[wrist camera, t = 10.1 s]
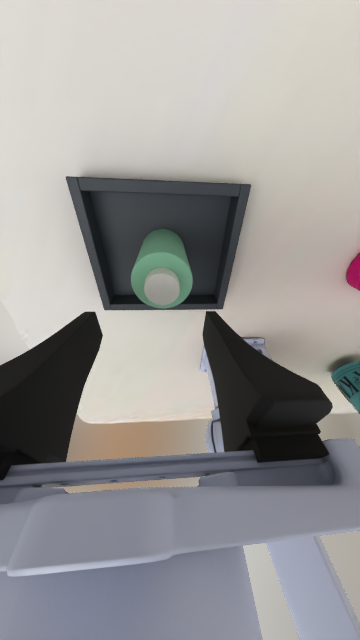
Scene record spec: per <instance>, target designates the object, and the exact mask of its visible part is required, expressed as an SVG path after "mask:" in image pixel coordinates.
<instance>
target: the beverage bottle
mask: <svg viewBox="0 0 360 640" xmlns="http://www.w3.org/2000/svg"><path fill="white" fill-rule="evenodd" d="M331 378H332V380H333V381H334V384H336V386H338V387H337V388H338V389H340V390H341V393H342V394H343V395H345V397H346V399H347V400H348V401H349V402H350V403H352V405H353V406H354V407H355V408H356V410H357V411H358V412H359V414H360V361H357V362H352V363H348V364H346V365H343V366H341V367H339V368H338V369H336V370H335V371H334V372H333V373H332V375H331ZM354 407H353V408H354ZM355 408H354V409H355Z"/></svg>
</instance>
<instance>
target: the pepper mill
mask: <svg viewBox="0 0 360 640" xmlns="http://www.w3.org/2000/svg"><path fill="white" fill-rule="evenodd" d="M347 282H348V283H349V284H350V285H351V286H352V287H354V288H356V289H358V290H360V254H359V255H358V256H357V257H356V258H355V259H354V260H353V262H352V263H351V265H350V267H349V269H348V272H347Z"/></svg>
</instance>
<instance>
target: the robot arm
mask: <svg viewBox="0 0 360 640" xmlns="http://www.w3.org/2000/svg"><path fill="white" fill-rule="evenodd" d="M102 336H103V335H102V332H101V329H100V325H99V322H98V319H97V316H96V313H95V312H84V313H83V314H81V315H80V316H78V317H77V318H76V319H74V320H73V321H72V322H70V323H69V324H68V325H66V326H65V327H63V328H62V329H61V330H59V331H58V332H57V333H55V334H54V335H52V336H51V337H49V338H48V339H46V340H45V341H43V342H42V343H40V344H39V345H37V346H35V347H34V348H32V349H30V350H29V351H27V352H25V353H24V354H22V355H20V356H18V357H16V358H14V359H12V360H10V361H8V362H6V363H4V364H2V365H0V640H262V635H261V631H260V626H259V621H258V616H257V611H256V607H255V602H254V597H253V592H252V588H251V583H250V578H249V573H248V568H247V564H246V559H245V555H244V550H243V545H251V544H259V543H266V544H267V546H268V550H269V552H270V555H271V558H272V561H273V564H274V567H275V570H276V572H277V575H278V578H279V581H280V584H281V587H282V590H283V593H284V596H285V599H286V601H287V604H288V607H289V610H290V613H291V616H292V619H293V622H294V624H295V627H296V630H297V633H298V636H299V639H300V640H360V623H359V620H358V619H357V616H356V614H355V612H354V610H353V607H352V605H351V604H350V601H349V599H348V597H347V595H346V593H345V590H344V588H343V586H342V584H341V582H340V579H339V577H338V575H337V573H336V571H335V569H334V567H333V564H332V562H331V560H330V558H329V556H328V554H327V551H326V549H325V547H324V545H323V543H322V540H321V539H320V536H321V535H330V534H337V533H345V532H353V531H360V446H359V445H358V444H357V442H356V441H355V439H353V438H342V439H329V440H325V441H321V439H320V437H319V435H318V434H320V432H321V431H320V429H319V427H318V426H317V424H316V423H317V422H319V421H320V420H321V419H322V418H324V417H325V416H326V415H328V414H329V413H330V412H331V409H332V403H331V402H330V400H329V399H328V398H327V396H326V395H325V394H324V392H323V391H322V389H321V388H320V387H319V386H318V384H316V383H314V382H311V381H309V380H307V379H305V378H303V377H301V376H299V375H297V374H295V373H293V372H291V371H289V370H288V369H286V368H284V367H282V366H280V365H279V364H277V363H275V362H274V361H273V360H272V358H271V357H270V355H269V353H268V352H267V350H266V348H265V347H264V345H263V344H264V342H265V340H264V339H263V338H252V339H242V338H241V337H240V336H239V335H238V334H237V333H236V332H235V331H234V330H233V329H231V328H230V327H229V325H228V324H227V323H226V322H225V321H224V320H223V319H222V318H221V317H220V316H219V315H218V314H217V313H216V312H215V311H206V316H205V322H204V328H203V341H204V349H203V355H202V361H201V366H200V371H201V372H207V373H208V378H209V382H210V387H211V392H212V396H213V401H214V405H215V410H213V411H211V413H212V418H213V419H212V420H210V421H209V422H208V425H207V430H206V444H207V450H208V453H202V454H186V455H172V456H171V455H170V456H155V457H140V458H139V457H138V458H123V459H107V460H91V461H75V462H66V458H67V453H68V448H69V442H70V438H71V434H72V429H73V425H74V421H75V417H76V413H77V409H78V405H79V402H80V398H81V395H82V391H83V388H84V385H85V382H86V380H87V377H88V375H89V372H90V370H91V368H92V365H93V363H94V361H95V358H96V356H97V353H98V351H99V348H100V344H101V340H102ZM203 476H205V477H203ZM189 477H201V478H200V479H199V486H197V487H149V488H129V489H115V490H103V491H93V492H81V493H67V492H66V491H65V490H64V489H62V488H52V487H66V486H79V485H93V484H106V483H121V482H134V481H148V480H161V479H176V478H189Z"/></svg>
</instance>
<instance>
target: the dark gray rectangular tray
mask: <svg viewBox="0 0 360 640" xmlns="http://www.w3.org/2000/svg"><path fill="white" fill-rule="evenodd" d="M66 180H67V183H68V187H69V190H70V194H71V197H72V201H73V204H74V207H75V211H76V214H77V218H78V221H79V225H80V228H81V231H82V235H83V238H84V242H85V245H86V249H87V252H88V255H89V259H90V262H91V266H92V269H93V273H94V276H95V279H96V283H97V286H98V290H99V293H100V297H101V300H102V303H103V307H104V310H194V309H223V306H224V301H225V297H226V293H227V288H228V284H229V280H230V275H231V271H232V266H233V262H234V258H235V253H236V249H237V245H238V240H239V236H240V232H241V227H242V223H243V218H244V214H245V210H246V205H247V201H248V197H249V192H250V188H251V185H250V184H228V183H205V182H182V181H159V180H136V179H113V178H90V177H68V176H67V177H66ZM157 229H167V230H170V231H173V232H174V233H176V234H177V235H178V236H179V237H180V238H181V240H182V242H183V244H184V248H185V251H186V255H187V259H188V262H189V266H190V269H191V273H192V278H193V284H192V289H191V291H190V293H189V295H188V297H187V298H186V299H185V300H184V301H183V302H181V303H180V304H178V305H176V306H174V307H171V308H155V307H152V306H149V305H147V304H145V303H144V302H142V301H141V300H140V299H139V298H138V297H137V295H136V294H135V292H134V290H133V288H132V284H131V274H132V270H133V268H134V265H135V262H136V260H137V257H138V254H139V252H140V249H141V247H142V244H143V241H144V239H145V238H146V236H147V235H148V234H149V233H151V232H152V231H154V230H157Z"/></svg>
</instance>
